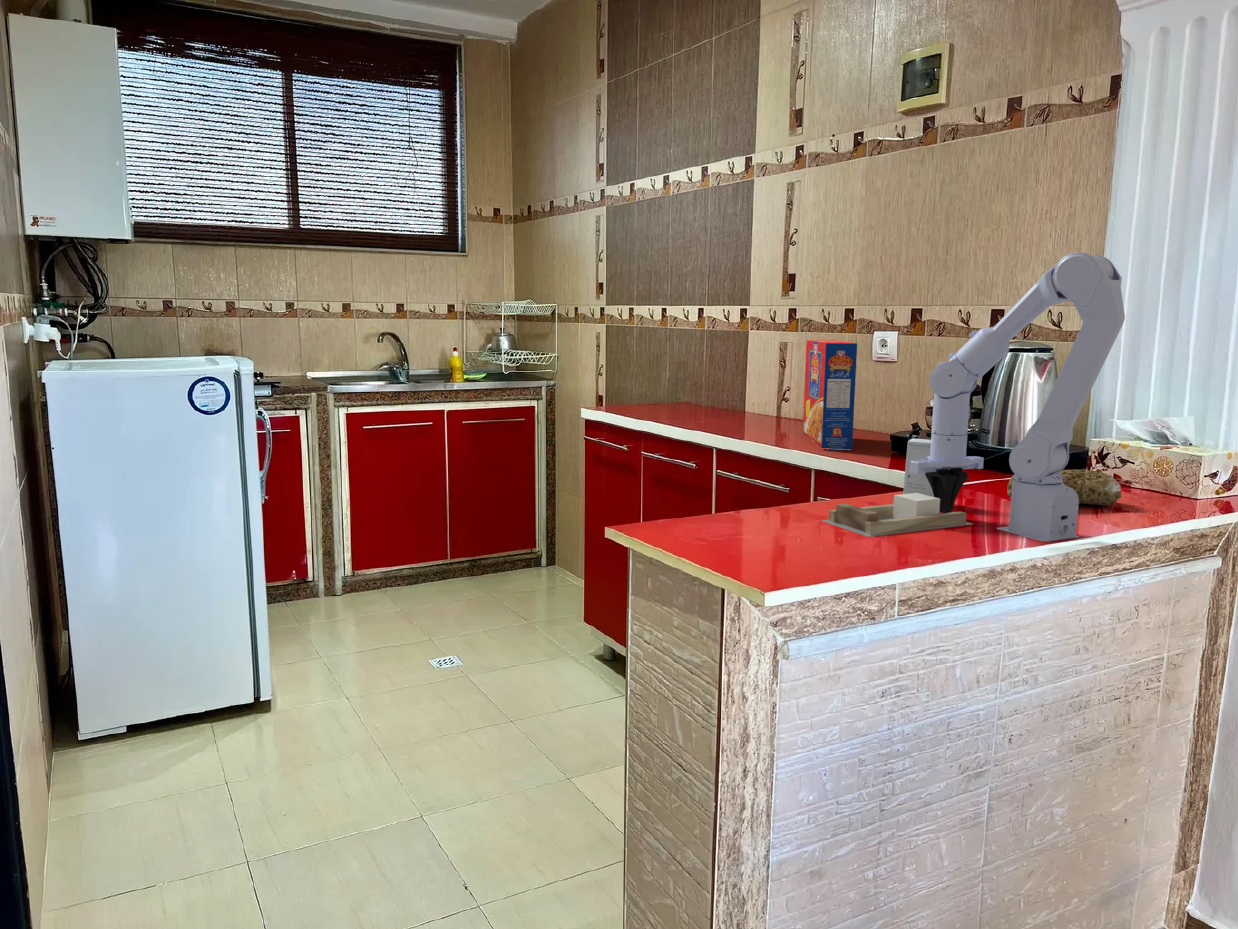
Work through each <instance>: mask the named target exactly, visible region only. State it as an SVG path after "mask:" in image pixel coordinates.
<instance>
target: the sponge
mask: <svg viewBox="0 0 1238 929" xmlns="http://www.w3.org/2000/svg"><path fill="white" fill-rule="evenodd" d="M1060 472H1061V475H1062V477H1063V484H1064V485H1065V486H1067V487H1070V488H1072V489H1074V490H1075V491H1076V492H1077V495H1078V498H1079V505H1080V504H1085V505H1099V506H1110V505H1112V506H1113V505H1114V504H1117V502H1118V500H1120V499H1121V498H1122V493H1121V491H1122V489H1121V487H1122V486H1121V483H1119V482H1118V481H1117V480H1116V479H1115V478H1113V476H1112V475H1111V474H1108V473H1106V472H1105V473H1103V472H1101V471H1096V470H1090V469H1062V470H1061V471H1060ZM1012 483H1013V475H1012V476H1011V477H1010V478H1009V481H1008V483H1007V488H1006V489H1007V495H1008V496H1009V497H1010V498H1011V496H1012Z"/></svg>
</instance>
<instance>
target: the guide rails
mask: <svg viewBox="0 0 1238 929" xmlns="http://www.w3.org/2000/svg"><path fill="white" fill-rule="evenodd" d="M893 507H894V503H890V504H879V505H878V504H877V505H870V506H869V505H868V506H860V507H859V506H855V505H852V504H849V503H838V504H836V506H835V509H830V510H828V520H829V521H830V522H837V523H840V524H843V525H846V526H849V527H852V528H855V529H858V530H861V531H864V532H865V533H866V534H869V535H872V534H880V533H889V532H897V531H906V530H914V529H923V528H931V527H940V526H949V525H957V524H966V522H967V512H964V511H953V512H951V513H939V514H933V515H924V516H915V517H906V518H897V519H888V520H878V518H879V517H888V516H893Z"/></svg>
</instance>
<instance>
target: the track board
mask: <svg viewBox="0 0 1238 929" xmlns="http://www.w3.org/2000/svg"><path fill="white" fill-rule="evenodd" d="M888 519H894V518H893V516H888V517H879V518H878V520H888ZM820 521H821V522H823V523H827V524H830V525H833V526H834V527H838V528H841V529H843V530H847V531H850V532H852V533H856V534H859V535H862V536H865V537H867V538H870V537H877V536H885V535H895V534H902V533H903V534H904V533H910V532H911V533H912V532H919V531H927V530H929V531H930V530H937V529H944V528H953V527H963V526H970V525H973V522H972V523H971V522H968V521H966V524H957V525H949V526H940V527H931V528H923V529H914V530H906V531H897V532H889V533H880V534H872V535H869V534H866V533H865V532H864V531H861V530H858V529H855V528H852V527H849V526H846V525H843V524H840V523H837V522H830V521H829V519H821V520H820Z"/></svg>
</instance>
